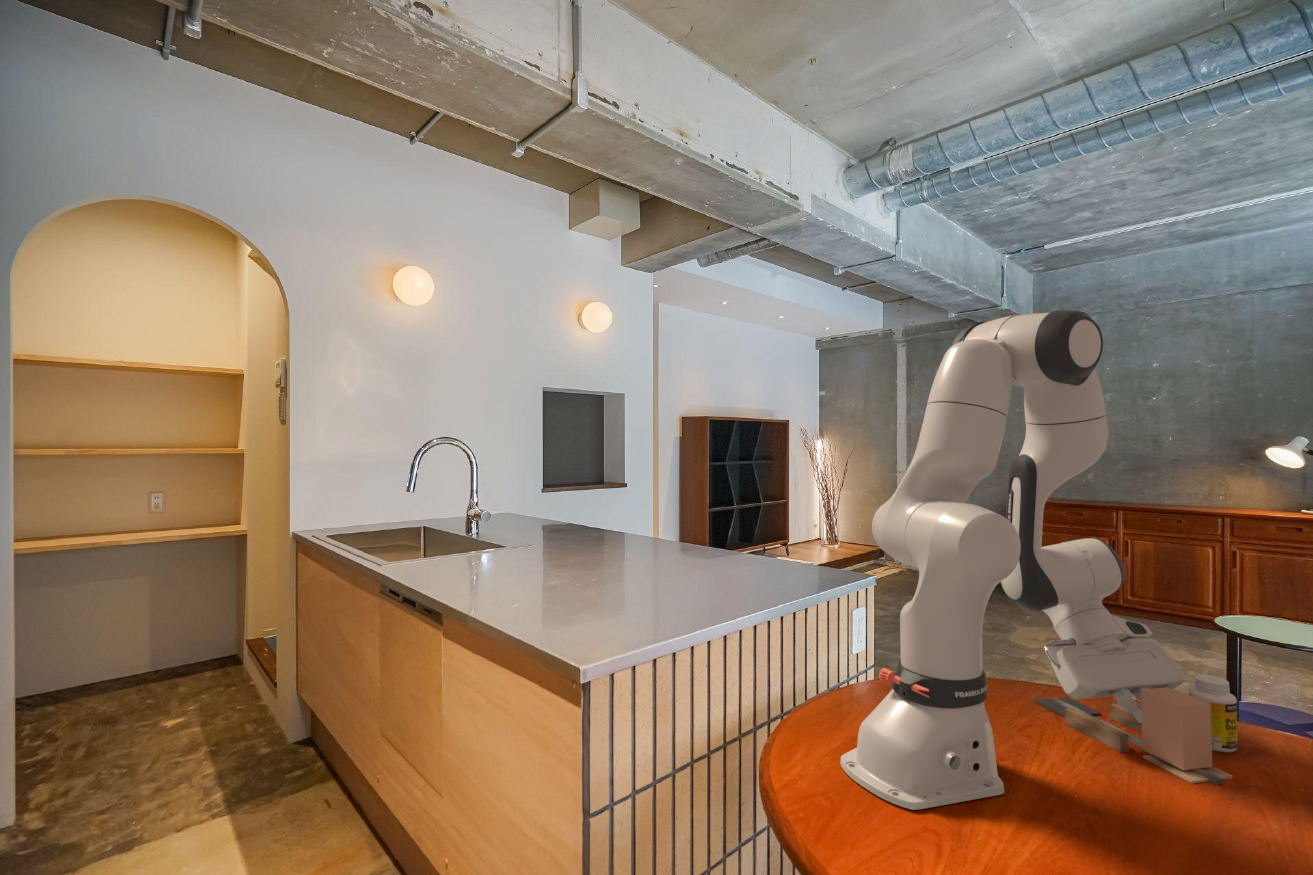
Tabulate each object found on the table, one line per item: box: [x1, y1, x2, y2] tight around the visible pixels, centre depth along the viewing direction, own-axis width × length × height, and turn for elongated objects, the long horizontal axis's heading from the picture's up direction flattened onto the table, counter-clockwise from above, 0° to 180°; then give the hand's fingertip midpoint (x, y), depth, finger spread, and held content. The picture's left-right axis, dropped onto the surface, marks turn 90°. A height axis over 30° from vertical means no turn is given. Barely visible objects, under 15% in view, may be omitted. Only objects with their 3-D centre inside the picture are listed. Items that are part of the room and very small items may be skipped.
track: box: [1049, 697, 1225, 786], centre depth 97 cm, size 28×10×2 cm, turn 10°
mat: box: [1142, 754, 1234, 784], centre depth 88 cm, size 7×7×1 cm
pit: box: [1033, 696, 1102, 718], centre depth 108 cm, size 7×7×1 cm
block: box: [1140, 687, 1213, 770], centre depth 89 cm, size 6×5×9 cm
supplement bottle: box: [1188, 674, 1239, 753], centre depth 94 cm, size 6×6×10 cm
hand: (1151, 720), depth 93 cm, fingers closed, pressing on block
